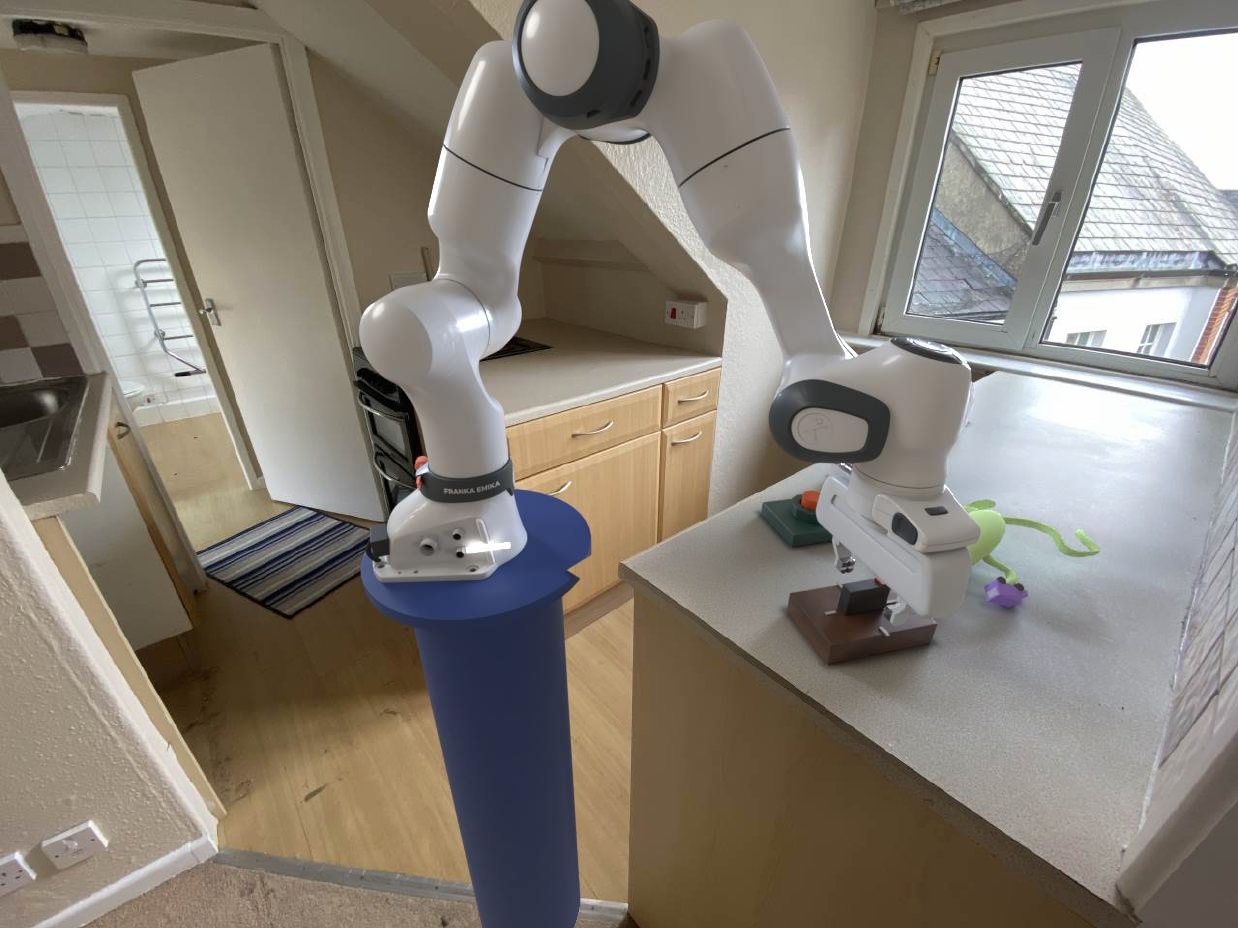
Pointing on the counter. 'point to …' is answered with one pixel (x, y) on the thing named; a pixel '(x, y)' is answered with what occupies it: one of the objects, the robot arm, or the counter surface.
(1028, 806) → the counter surface
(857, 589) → the dark block
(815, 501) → the button
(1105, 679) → the counter surface
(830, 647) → the knob panel
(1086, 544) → the figurine
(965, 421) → the white folded napkin
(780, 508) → the button box
